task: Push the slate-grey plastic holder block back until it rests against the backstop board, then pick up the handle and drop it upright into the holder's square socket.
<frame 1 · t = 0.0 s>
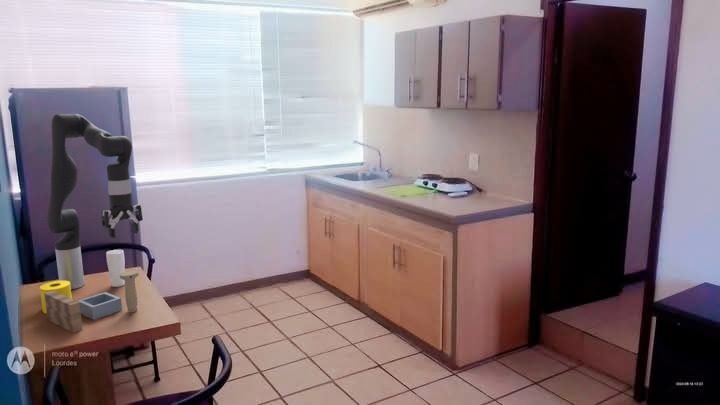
hand: (124, 235, 191), 29 cm above the table, tool pointing down, fingers open, 8 cm apart
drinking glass: (118, 285, 224), on the table
tape roll: (58, 308, 199), on the table
handle: (132, 311, 196), on the table
holder: (100, 311, 196), on the table
backstop: (64, 324, 185), on the table
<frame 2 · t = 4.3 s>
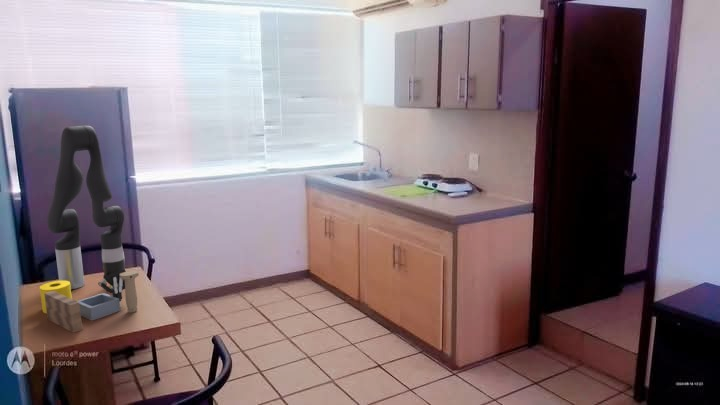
hand: (117, 301, 202), 2 cm above the table, tool pointing down, fingers closed
holder: (98, 312, 196), on the table, touching gripper
everything else where it was.
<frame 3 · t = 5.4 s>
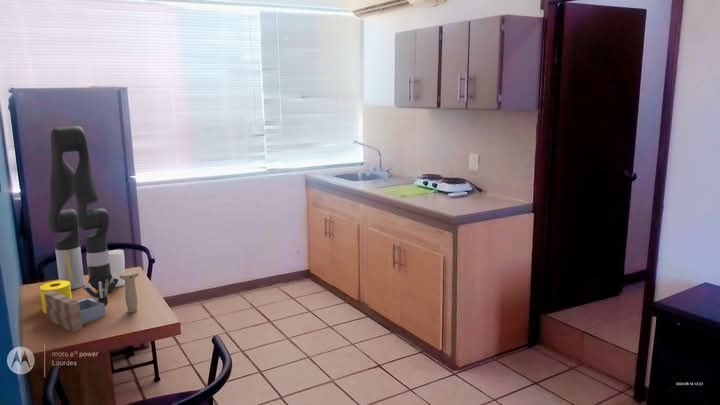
hand: (103, 306, 197), 2 cm above the table, tool pointing down, fingers closed
holder: (83, 318, 191), on the table, touching gripper
everything else where it was.
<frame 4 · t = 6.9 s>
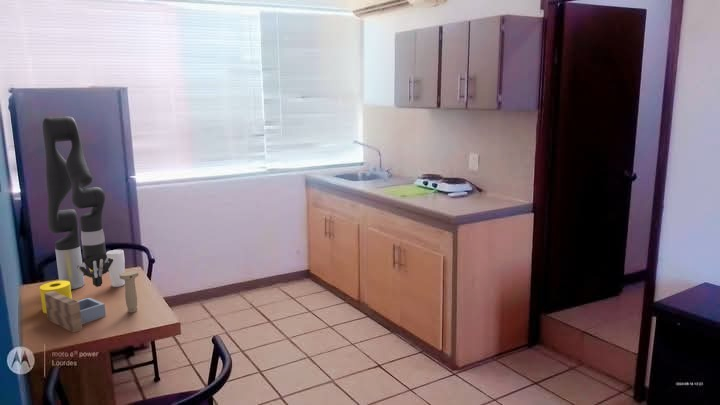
hand: (97, 286, 195), 10 cm above the table, tool pointing down, fingers closed
holder: (83, 318, 191), on the table
everything else where it was.
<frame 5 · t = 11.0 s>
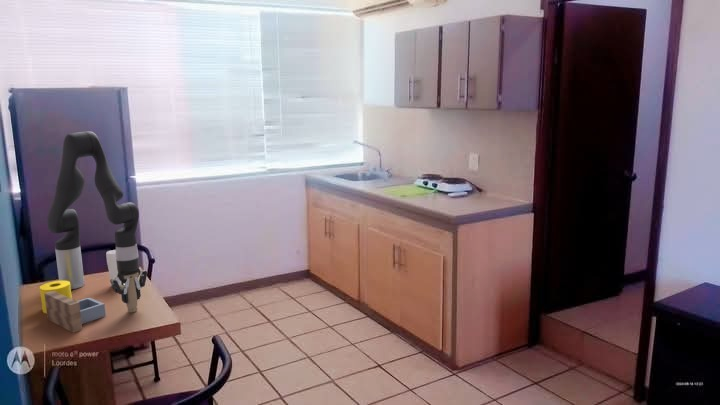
hand: (131, 300, 195), 4 cm above the table, tool pointing down, fingers closed on handle, 4 cm apart
handle: (132, 311, 196), on the table, touching gripper
everything else where it was.
when the fingers open (7 cm above the table, at t = 16.8 s): handle drops 2 cm, resting on holder.
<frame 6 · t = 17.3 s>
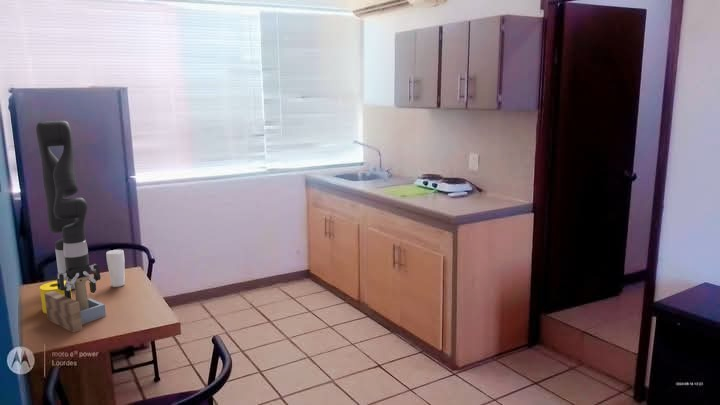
hand: (81, 296, 190), 8 cm above the table, tool pointing down, fingers open, 8 cm apart
handle: (83, 316, 191), resting on holder
holder: (83, 318, 191), on the table, touching handle
everything else where it was.
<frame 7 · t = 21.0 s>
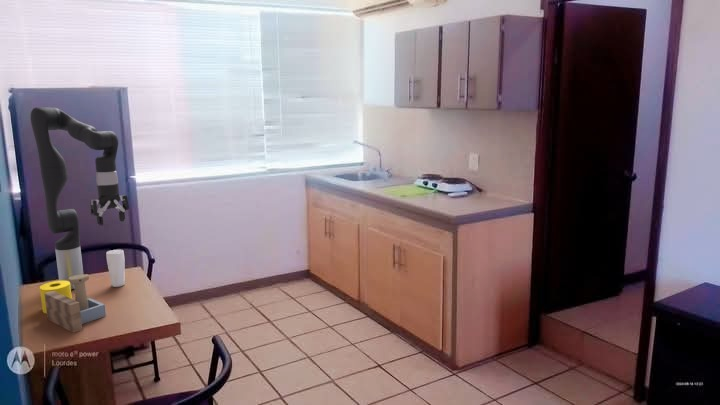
hand: (111, 223, 206), 30 cm above the table, tool pointing down, fingers open, 8 cm apart
nothing on the table moved.
at the end: holder inside the target area (0.6 cm from its centre), on the table; handle 0.4 cm off-centre on the holder, point 0.8 cm above the holder's base; handle tilted 0° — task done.
